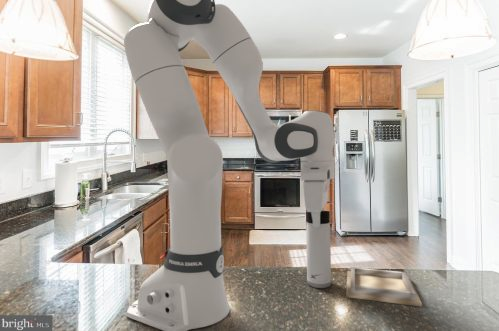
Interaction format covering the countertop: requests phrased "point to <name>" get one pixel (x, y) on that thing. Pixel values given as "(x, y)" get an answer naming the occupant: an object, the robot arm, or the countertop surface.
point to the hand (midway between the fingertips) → (318, 223)
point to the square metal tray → (381, 286)
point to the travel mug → (318, 251)
